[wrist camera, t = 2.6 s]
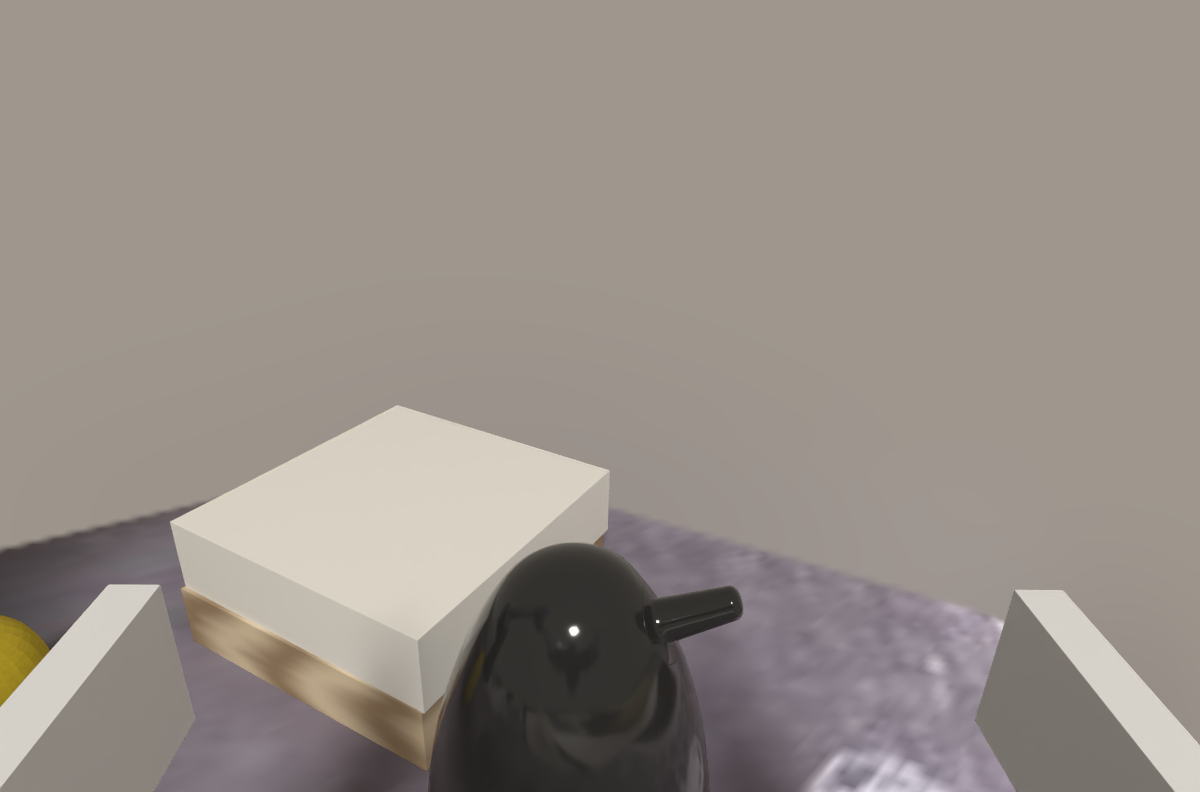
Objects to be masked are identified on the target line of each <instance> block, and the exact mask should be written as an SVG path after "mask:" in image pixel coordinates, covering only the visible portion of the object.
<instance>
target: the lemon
mask: <svg viewBox="0 0 1200 792" xmlns="http://www.w3.org/2000/svg"><path fill="white" fill-rule="evenodd" d="M49 652H50V649H49V648H48V646H47V645H46V643H45V642H44V641H43V640H42V639H41V638H40V637H39V636H38V635H37V634H36V633H35V632H34V631H33V630H32V629H30V628H29V627H28V626H27V625H25V624H24V623H22V622H20V621H18V620H16V619H13V618H10V617H7V616H3V615H0V707H1V706H2V705H3V704H4V702H5V701H6V700H7V699H8V698H9V697H10V696H11V695H12V693H13V692H14V691H15V690H16V689H17V688H18V687H19V685H20V684H21V683H22V682H23V681H24V680H25V679H26V678H27V676H28V675H29V674H30V673H31V672H32V671H33V670H34V668H35V667H36V666H37V665H38V664H39V663H40V662H41V661H42V659H43V658H44V657H45V656H46V655H47V654H48V653H49Z"/></svg>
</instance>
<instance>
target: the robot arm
mask: <svg viewBox="0 0 1200 792" xmlns="http://www.w3.org/2000/svg"><path fill="white" fill-rule="evenodd" d="M194 721H195V716H194V712H193V708H192V704H191V701H190V697H189V693H188V689H187V685H186V682H185V678H184V674H183V670H182V666H181V662H180V659H179V655H178V651H177V647H176V643H175V640H174V636H173V632H172V628H171V624H170V621H169V617H168V613H167V609H166V605H165V601H164V598H163V594H162V590H161V586H160V585H108V586H107V587H106V588H105V589H104V590H103V592H102V593H101V594H100V595H99V596H98V597H97V598H96V599H95V601H94V602H93V603H92V604H91V605H90V606H89V607H88V609H87V610H86V611H85V612H84V613H83V614H82V615H81V616H80V618H79V619H78V620H77V621H76V622H75V623H74V624H73V625H72V627H71V628H70V629H69V630H68V631H67V632H66V633H65V635H64V636H63V637H62V638H61V639H60V640H59V641H58V642H57V644H56V645H55V646H54V647H53V648H52V649H51V650H50V652H49V653H48V654H47V655H46V656H45V657H44V658H43V659H42V661H41V662H40V663H39V664H38V665H37V666H36V667H35V668H34V670H33V671H32V672H31V673H30V674H29V675H28V676H27V678H26V679H25V680H24V681H23V682H22V683H21V684H20V685H19V687H18V688H17V689H16V690H15V691H14V692H13V693H12V695H11V696H10V697H9V698H8V699H7V700H6V701H5V702H4V704H3V705H2V706H1V707H0V792H154V790H155V788H156V787H157V785H158V783H159V782H160V780H161V778H162V776H163V775H164V773H165V771H166V769H167V768H168V766H169V764H170V762H171V761H172V759H173V757H174V756H175V754H176V752H177V750H178V749H179V747H180V745H181V743H182V742H183V740H184V738H185V736H186V735H187V733H188V731H189V730H190V728H191V726H192V724H193V723H194ZM975 721H976V723H977V725H978V726H979V728H980V730H981V732H982V733H983V735H984V737H985V738H986V740H987V742H988V744H989V745H990V747H991V749H992V750H993V752H994V754H995V756H996V757H997V759H998V761H999V762H1000V764H1001V766H1002V768H1003V769H1004V771H1005V773H1006V774H1007V776H1008V778H1009V780H1010V781H1011V783H1012V785H1013V787H1014V788H1015V790H1016V792H1200V745H1199V744H1198V743H1197V742H1196V741H1195V740H1194V738H1193V737H1192V736H1191V735H1190V734H1189V733H1188V732H1187V730H1186V729H1185V728H1184V727H1183V726H1182V725H1181V724H1180V722H1179V721H1178V720H1177V719H1176V718H1175V717H1174V716H1173V715H1172V713H1171V712H1170V711H1169V710H1168V709H1167V708H1166V707H1165V705H1164V704H1163V703H1162V702H1161V701H1160V700H1159V699H1158V698H1157V697H1156V695H1155V694H1154V693H1153V692H1152V691H1151V690H1150V689H1149V687H1148V686H1147V685H1146V684H1145V683H1144V682H1143V681H1142V680H1141V678H1140V677H1139V676H1138V675H1137V674H1136V673H1135V671H1134V670H1133V669H1132V668H1131V667H1130V666H1129V665H1128V664H1127V663H1126V661H1125V660H1124V659H1123V658H1122V657H1121V656H1120V654H1118V652H1117V651H1116V650H1115V649H1114V648H1113V647H1112V645H1111V644H1110V643H1109V642H1108V641H1107V640H1106V639H1105V638H1104V636H1103V635H1102V634H1101V633H1100V632H1099V631H1098V630H1097V628H1096V627H1095V626H1094V625H1093V624H1092V623H1091V622H1090V621H1089V619H1088V618H1087V617H1086V616H1085V615H1084V614H1083V613H1082V611H1081V610H1080V609H1079V608H1078V607H1077V606H1076V605H1075V604H1074V602H1073V601H1072V600H1071V599H1070V598H1069V597H1068V596H1067V594H1065V592H1064V591H1063V590H1014V593H1013V597H1012V600H1011V603H1010V607H1009V610H1008V614H1007V616H1006V620H1005V623H1004V626H1003V630H1002V633H1001V636H1000V640H999V643H998V646H997V649H996V653H995V656H994V659H993V663H992V666H991V669H990V672H989V676H988V679H987V682H986V686H985V689H984V692H983V696H982V699H981V702H980V705H979V709H978V712H977V715H976V719H975Z"/></svg>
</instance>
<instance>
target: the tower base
mask: <svg viewBox="0 0 1200 792" xmlns="http://www.w3.org/2000/svg"><path fill="white" fill-rule="evenodd" d="M594 544H595V545H598V546H601V547H603V535H602V536H601V537H600V538H599V539H598V540H597V541H596V542H595V543H594ZM181 591H182V595H183V599H184V603H185V607H186V611H187V615H188V619H189V623H190V627H191V631H192V635H193V639H194V641H196V642H197V643H199V644H201V645H203V646H205V647H206V648H208V649H210V650H212V651H213V652H215V653H217V654H219V655H221V656H222V657H224V658H226V659H228V660H229V661H231V662H233V663H235V664H237V665H238V666H240V667H242V668H244V669H245V670H247V671H249V672H251V673H253V674H254V675H256V676H258V677H260V678H261V679H263V680H265V681H267V682H269V683H270V684H272V685H274V686H276V687H277V688H279V689H281V690H283V691H285V692H286V693H288V694H290V695H292V696H293V697H295V698H297V699H299V700H301V701H302V702H304V703H306V704H308V705H310V706H311V707H313V708H315V709H317V710H318V711H320V712H322V713H324V714H326V715H327V716H329V717H331V718H333V719H334V720H336V721H338V722H340V723H342V724H343V725H345V726H347V727H349V728H350V729H352V730H354V731H356V732H358V733H359V734H361V735H363V736H365V737H366V738H368V739H370V740H372V741H374V742H375V743H377V744H379V745H381V746H382V747H384V748H386V749H388V750H390V751H391V752H393V753H395V754H397V755H398V756H400V757H402V758H404V759H406V760H407V761H409V762H411V763H413V764H414V765H416V766H418V767H420V768H422V769H423V770H425V771H428V770H429V769H430V763H431V755H432V748H433V742H434V736H435V730H436V725H437V721H438V717H439V712H440V708H441V705H442V701H443V698H444V694H445V693H444V694H443V695H442V696H441V697H440V698H439V699H438V700H437V701H436V702H435V703H434V704H433V705H432V706H431V707H430V708H429V709H428V710H427V711H426V712H425V713H422V712H420V711H418V710H417V709H415V708H413V707H411V706H409V705H407V704H405V703H403V702H402V701H400V700H398V699H396V698H394V697H392V696H390V695H388V694H386V693H385V692H383V691H381V690H379V689H377V688H375V687H373V686H371V685H369V684H368V683H366V682H364V681H362V680H360V679H358V678H356V677H354V676H353V675H351V674H349V673H347V672H345V671H343V670H341V669H339V668H337V667H336V666H334V665H332V664H330V663H328V662H326V661H324V660H322V659H321V658H319V657H317V656H315V655H313V654H311V653H309V652H307V651H305V650H304V649H302V648H300V647H298V646H296V645H294V644H292V643H290V642H289V641H287V640H285V639H283V638H281V637H279V636H277V635H275V634H273V633H272V632H270V631H268V630H266V629H264V628H262V627H260V626H258V625H257V624H255V623H253V622H251V621H249V620H247V619H245V618H243V617H241V616H240V615H238V614H236V613H234V612H232V611H230V610H228V609H226V608H224V607H223V606H221V605H219V604H217V603H215V602H213V601H211V600H209V599H208V598H206V597H204V596H202V595H200V594H198V593H196V592H194V591H192V590H191V589H189V588H187V587H186V586H185V587H183V588H181Z"/></svg>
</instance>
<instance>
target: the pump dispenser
mask: <svg viewBox="0 0 1200 792" xmlns="http://www.w3.org/2000/svg"><path fill="white" fill-rule="evenodd" d="M742 614H743V603H742V599H741V596H740V594H739V592H738V590H737V589H736V588H735V587H733V586H724V587H718V588H713V589H707V590H701V591H696V592H690V593H685V594H679V595H673V596H667V597H661V598H657V596H656V595H655V593H654V592H653V591H652V589H651V588H650V587H649V586H648V584H647V583H646V582H645V581H644V579H643V578H642V577H641V576H640V574H639V573H638V572H637V571H636V570H635V569H634V568H633V566H632V565H631V564H630V563H628V562H627V561H626V560H625V559H624V558H623V557H621V556H620V555H618V554H617V553H615V552H613V551H611V550H609V549H607V548H604V547H601V546H598V545H595V544H590V543H584V542H562V543H556V544H551V545H548V546H544V547H542V548H539V549H537V550H535V551H533V552H531V553H529V554H527V555H526V556H524V557H523V558H521V559H520V560H519V561H518V562H516V563H515V564H514V565H513V566H512V567H511V568H510V569H509V570H508V571H507V572H506V573H505V574H504V576H503V577H502V578H501V579H500V580H499V582H498V583H497V584H496V586H495V587H494V588H493V590H492V591H491V593H490V594H489V596H488V597H487V599H486V600H485V602H484V604H483V605H482V607H481V609H480V610H479V612H478V614H477V616H476V618H475V620H474V622H473V624H472V626H471V628H470V630H469V632H468V634H467V636H466V638H465V641H464V643H463V645H462V648H461V650H460V652H459V655H458V657H457V660H456V662H455V665H454V667H453V670H452V673H451V676H450V679H449V681H448V684H447V688H446V691H445V694H444V698H443V701H442V705H441V708H440V712H439V717H438V721H437V725H436V730H435V736H434V742H433V748H432V755H431V763H430V772H429V782H428V792H710V789H709V771H708V759H707V749H706V741H705V734H704V728H703V722H702V717H701V712H700V708H699V703H698V699H697V695H696V691H695V688H694V684H693V681H692V677H691V674H690V671H689V668H688V665H687V662H686V659H685V657H684V654H683V651H682V649H681V646H680V644H679V642H678V640H680V639H683V638H686V637H689V636H692V635H695V634H698V633H701V632H704V631H707V630H710V629H713V628H716V627H719V626H721V625H724V624H727V623H730V622H733V621H736V620H739V619H740V618H741V616H742Z"/></svg>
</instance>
